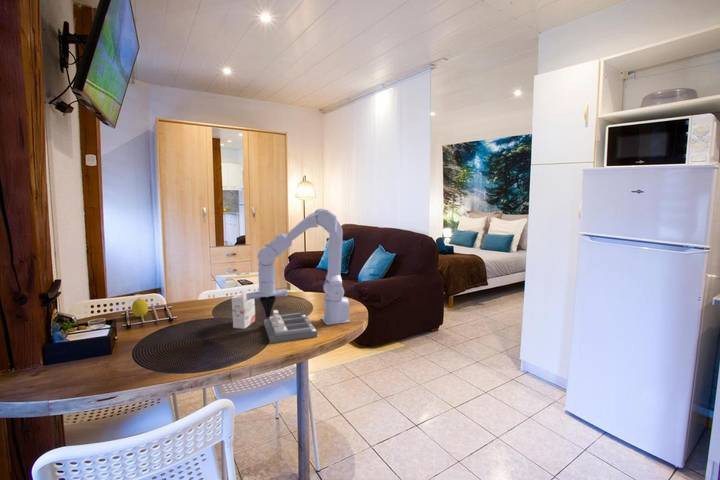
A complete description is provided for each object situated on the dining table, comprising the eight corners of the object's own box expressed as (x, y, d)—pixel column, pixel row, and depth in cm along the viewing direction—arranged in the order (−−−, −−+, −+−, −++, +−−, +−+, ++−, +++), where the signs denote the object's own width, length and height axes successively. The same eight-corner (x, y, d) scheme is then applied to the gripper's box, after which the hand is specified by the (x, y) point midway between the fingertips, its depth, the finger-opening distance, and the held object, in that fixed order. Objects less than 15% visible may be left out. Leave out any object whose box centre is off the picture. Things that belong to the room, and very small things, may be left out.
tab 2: (283, 323, 129) (282, 313, 129) (284, 327, 126) (284, 317, 125) (271, 325, 128) (271, 315, 127) (273, 329, 124) (273, 318, 124)
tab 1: (280, 318, 134) (280, 309, 134) (282, 322, 131) (282, 312, 130) (269, 320, 133) (269, 310, 132) (271, 323, 129) (271, 313, 129)
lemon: (151, 316, 141) (150, 297, 140) (136, 321, 137) (135, 301, 135) (144, 314, 144) (143, 295, 143) (129, 318, 139) (128, 298, 138)
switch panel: (305, 319, 140) (305, 311, 139) (317, 336, 123) (317, 327, 123) (264, 324, 134) (263, 316, 133) (270, 343, 117) (270, 334, 117)
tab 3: (285, 329, 124) (285, 318, 124) (287, 333, 120) (287, 322, 120) (274, 330, 123) (273, 320, 122) (275, 334, 119) (275, 324, 118)
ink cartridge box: (244, 320, 139) (242, 283, 137) (255, 321, 138) (254, 284, 136) (232, 328, 130) (230, 289, 128) (244, 329, 129) (243, 290, 127)
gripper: (284, 276, 135) (285, 310, 137) (245, 279, 130) (246, 315, 131) (288, 280, 128) (288, 316, 130) (246, 284, 123) (247, 321, 125)
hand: (267, 316), depth 130 cm, fingers closed
